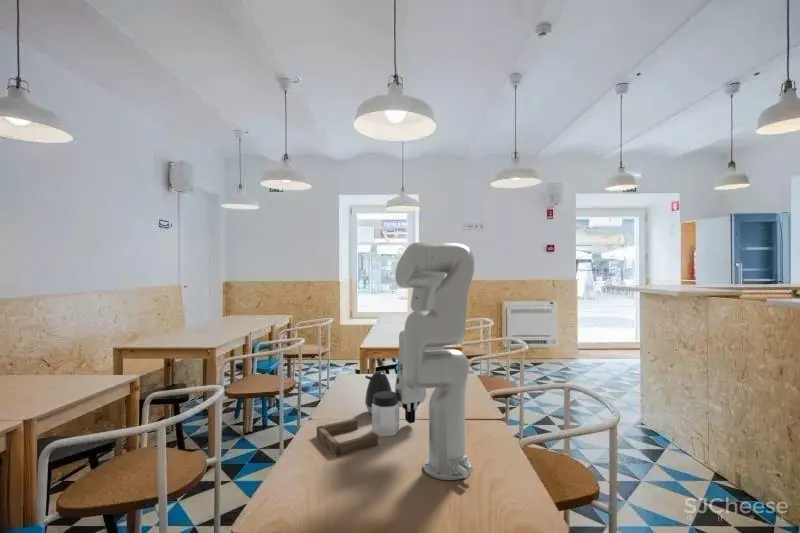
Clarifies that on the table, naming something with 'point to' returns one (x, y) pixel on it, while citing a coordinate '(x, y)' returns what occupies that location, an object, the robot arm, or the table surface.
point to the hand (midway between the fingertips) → (410, 421)
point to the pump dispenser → (376, 387)
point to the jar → (385, 413)
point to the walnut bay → (346, 446)
